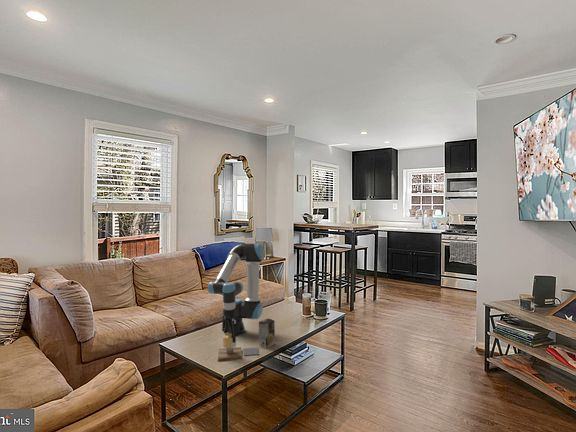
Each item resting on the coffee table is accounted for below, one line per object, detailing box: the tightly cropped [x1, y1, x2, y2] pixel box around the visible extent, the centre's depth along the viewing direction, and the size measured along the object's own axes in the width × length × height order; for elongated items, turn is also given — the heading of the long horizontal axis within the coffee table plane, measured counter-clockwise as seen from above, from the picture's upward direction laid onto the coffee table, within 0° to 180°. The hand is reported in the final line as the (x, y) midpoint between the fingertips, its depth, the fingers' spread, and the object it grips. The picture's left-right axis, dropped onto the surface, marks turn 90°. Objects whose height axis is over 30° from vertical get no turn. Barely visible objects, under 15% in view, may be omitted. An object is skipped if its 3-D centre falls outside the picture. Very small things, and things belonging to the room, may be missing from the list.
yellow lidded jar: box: [222, 334, 237, 349], centre depth 208 cm, size 8×8×7 cm
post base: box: [217, 346, 243, 362], centre depth 208 cm, size 14×14×10 cm
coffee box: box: [258, 318, 276, 349], centre depth 223 cm, size 9×6×16 cm
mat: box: [243, 347, 260, 357], centre depth 212 cm, size 10×9×1 cm
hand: (229, 345), depth 208 cm, fingers closed on yellow lidded jar, 7 cm apart
